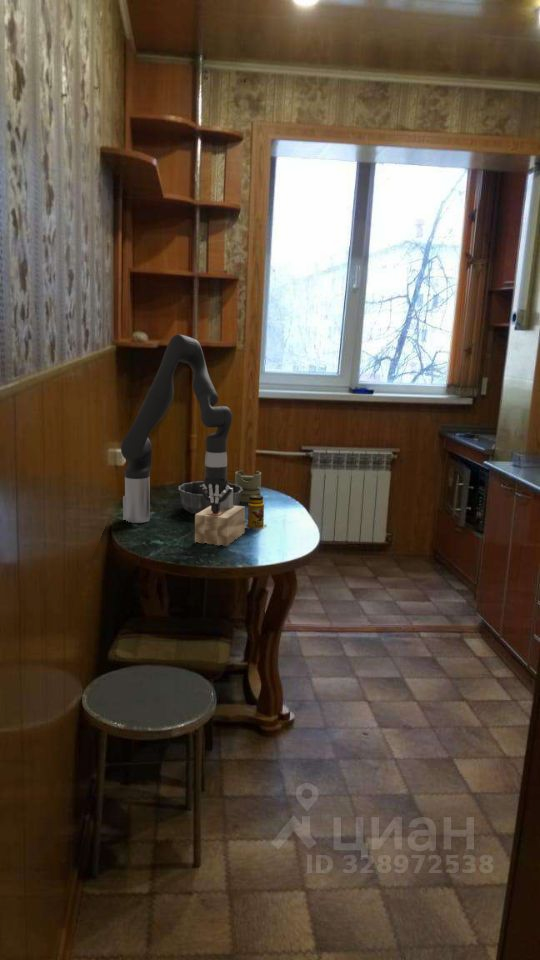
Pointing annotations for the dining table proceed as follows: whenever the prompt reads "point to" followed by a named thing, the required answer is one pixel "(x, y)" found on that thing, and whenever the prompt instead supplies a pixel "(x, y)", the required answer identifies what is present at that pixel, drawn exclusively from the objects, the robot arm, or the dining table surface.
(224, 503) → the peg grey
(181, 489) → the bundt pan
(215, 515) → the peg terracotta
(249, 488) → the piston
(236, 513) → the oak block
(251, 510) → the condiment
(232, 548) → the dining table surface
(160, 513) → the dining table surface
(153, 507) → the dining table surface
